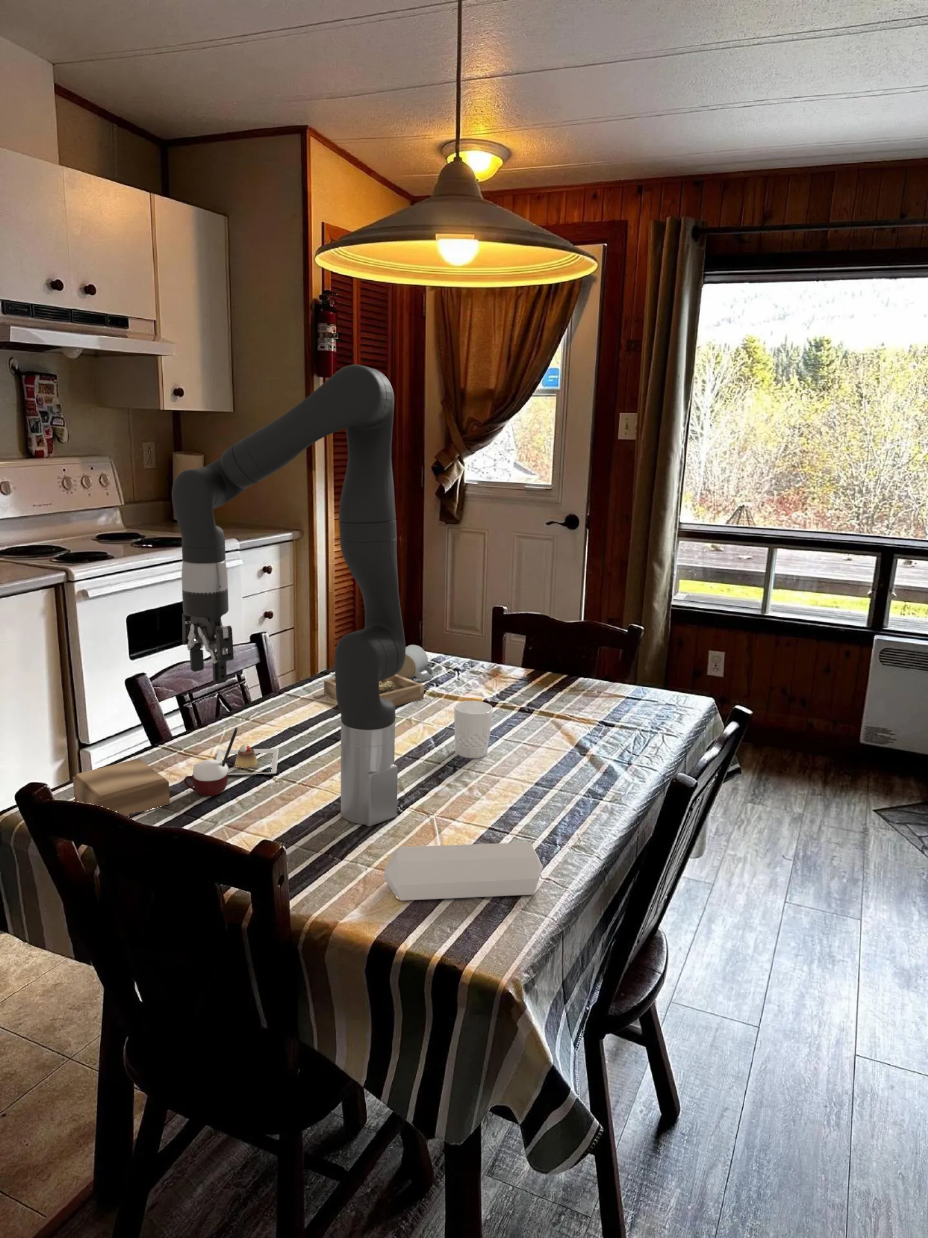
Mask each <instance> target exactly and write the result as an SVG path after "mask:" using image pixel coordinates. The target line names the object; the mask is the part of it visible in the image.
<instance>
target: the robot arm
mask: <svg viewBox="0 0 928 1238" xmlns="http://www.w3.org/2000/svg"><path fill="white" fill-rule="evenodd" d="M394 394H395V393H394V389H393V387H392V385H391V382H390V381H389V379H388V378H387V376H385V374H384V373H382V372H381V371H379V370H378V369H376V368H373V367H372V368H371V367H368V366H366V365H363V364H362V365H360V364H349V365H346V366H343V367H341V368H340V369H339V370H337V371H336V372H335V373H334V374H332V375H331V376H330V377H329V378H327V380H326V381H324V382H323V383H322V384H321V385H320V386H318V388H316V389H315V390H314V391H313V392H312V393H310V395H308V396H307V397H306V398H304V399H303V400H302V401H300V403H298V404H296V405H295V406H294V407H293V408H292V409H290V410H288V411H287V412H286V413H284V414H282V415H280V416H279V417H278V418H276V419H274V420H272V421H271V422H269V423H267V424H266V425H265V426H263V427H260V428H259V429H258V430H255V431H254V432H252V433H251V434H249V435H247V436H246V437H244V438H242V439H240V440H239V441H238V442H236V443H233V445H231V446H229V447H228V448H227V449H225V450H224V451H223V452H222V453H221V457H218V459H216V460H215V461H213V462H211V463H209V464H207V465H205V466H203V467H197V468H191V469H186V470H185V469H184V470H183V471H181V472H180V473H178V474H177V476H176V477H175V479H174V481H173V484H172V487H171V488H172V489H171V503H172V507H173V511H174V514H175V515H174V516H175V518H176V521H177V522H176V523H177V525H178V529H179V532H180V534H181V558H182V559H181V560H182V564H181V590H182V591H181V593H182V594H181V595H182V611H183V612H182V614H181V622H182V625H181V626H182V629H181V630H182V631H181V633H182V635H181V636H182V644H183V646H186V648H187V650H188V651H189V664H190V665H189V668H190V671H191V672H193V673H194V672H200V671H203V670H204V666H205V664H204V663H205V661H204V650H203V648H204V649H205V652H207V653H208V654H210V655H209V656H210V657H211V660H212V682H213V683H214V684H215V685H219V684H223V683H224V684H225V683H226V682H227V681H228V676H227V675H228V673H227V662H228V661H233V660H234V659H235V658H234V657H235V655H234V639H233V627H232V626H231V625H225V626H223V622H222V616H224V615H226V614H227V613H228V612H229V583H228V582H229V579H228V570H227V567H228V566H227V564H226V563H227V561H226V558H227V557H226V538H225V532H224V530H223V529H222V527H220V526H219V525H216V520H215V516H214V514H215V513H214V509H217V508H219V507H222V506H223V505H226V504H227V503H229V502H230V501H231V500H233V499H235V498H236V497H237V496H238V495H240V494H241V493H242V492H243V491H245V490H246V489H247V488H248V487H251V486H253V485H255V484H257V483H259V482H260V481H262V480H264V479H266V478H268V477H269V476H271V475H273V474H274V473H276V472H278V471H280V470H281V469H282V468H283V467H285V466H286V465H288V464H289V463H290V462H292V461H293V460H294V459H295V458H296V457H297V456H299V455H300V454H301V453H302V452H303V451H305V450H306V449H307V448H308V447H310V446H312V444H314V443H316V442H318V441H320V440H321V439H323V438H325V437H326V436H329V435H331V434H334V433H336V432H339V431H342V430H344V429H345V432H346V442H347V463H346V470H345V474H344V475H345V476H344V479H343V484H342V488H341V489H342V490H341V495H340V501H339V510H338V513H339V515H338V521H339V525H338V527H339V543H340V544H339V545H340V550H341V554H342V557H343V559H344V561H345V563H346V566H347V567H348V569H349V571H350V573H351V575H352V576H353V578H354V580H355V582H356V584H357V585H358V587H359V589H360V593H361V595H362V601H363V606H364V608H363V609H364V628H363V629H358V630H355V631H351V632H350V633H346V634H345V635H343V636H342V637H341V638H340V639H339V641H338V642H337V645H336V647H335V653H334V678H335V683H336V699H337V700H336V699H335V700H336V703H337V707H338V709H339V711H340V712H339V713H340V815H341V817H343V819H344V820H346V821H348V822H351V823H354V824H360V825H365V826H367V827H372V826H374V825H377V824H380V823H383V822H385V821H387V820H391V819H393V818H396V817H397V816H398V779H399V778H398V777H399V776H398V772H399V771H398V770H399V768H398V765H396V764H395V755H396V754H395V752H396V751H395V750H396V747H395V746H396V744H395V741H396V738H395V737H396V706H394V704H393V703H392V702H391V701H389V700H387V699H384V698H381V697H380V693H379V681H382V680H385V679H387V678H390V677H392V676H394V675H396V674H397V673H398V672H399V671H400V670H401V669H402V667H403V665H404V662H405V656H406V647H407V646H406V638H405V637H406V636H405V631H404V623H403V618H402V617H403V615H402V609H401V599H400V592H399V591H400V590H399V576H398V575H399V574H398V573H399V572H398V571H399V570H398V559H397V558H398V556H397V552H398V551H397V545H398V543H397V542H398V541H397V539H398V536H397V520H396V519H397V518H396V517H397V516H396V503H395V485H394V474H393V473H394V471H393V464H392V462H393V461H392V441H393V428H394V427H393V425H394V414H395V413H394V410H395V395H394Z"/></svg>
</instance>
